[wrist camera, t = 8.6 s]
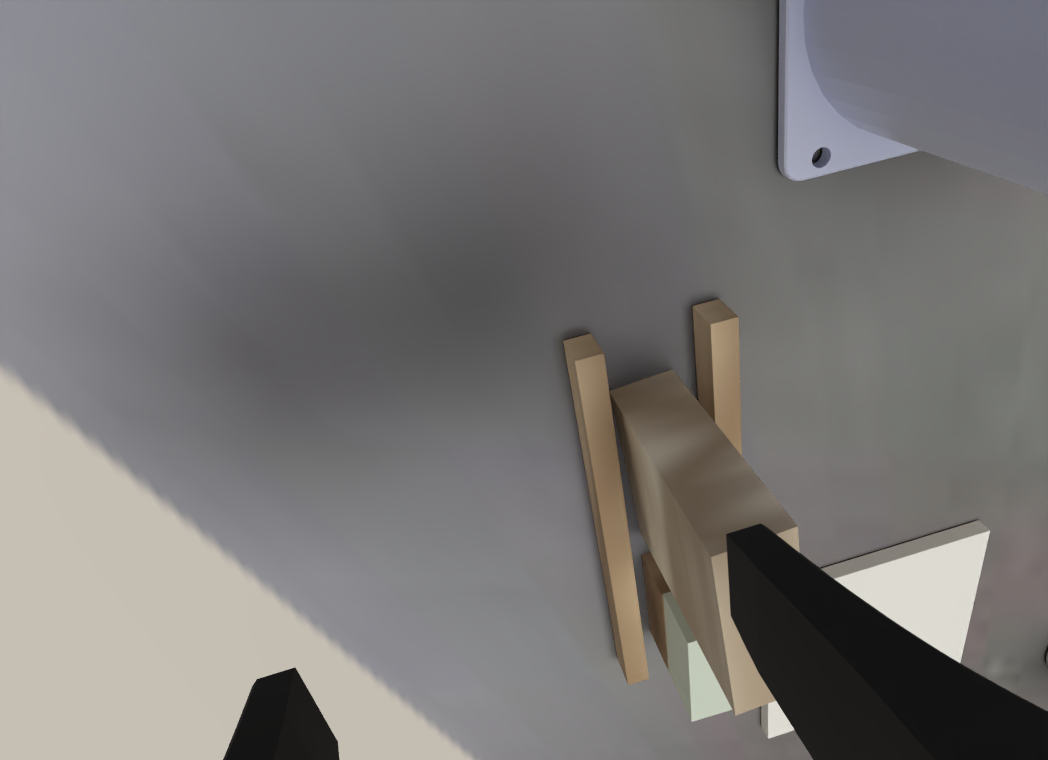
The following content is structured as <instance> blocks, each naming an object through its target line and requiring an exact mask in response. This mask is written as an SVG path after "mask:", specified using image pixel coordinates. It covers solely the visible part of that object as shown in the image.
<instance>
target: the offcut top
mask: <svg viewBox="0 0 1048 760" xmlns="http://www.w3.org/2000/svg"><path fill="white" fill-rule="evenodd" d="M663 600H664V614H665V628H666V642H667V656H668V670H669V673H670V675H671V678H672V680H673V682H674V684H675V686H676V689H677V691H678V693H679V695H680V697H681V700H682V702H683V704H684V706H685V708H686V711H687V713H688V715H689V717H690V719H691V722H693V721H696V720H699V719H703V718H706V717H709V716H713V715H716V714H719V713H722V712H726V711H729V710H732V708H731V706H730V704H729V702H728V700H727V698H726V696H725V694H724V692H723V691H722V689H721V687H720V685H719V683H718V681H717V679H716V677H715V675H714V673H713V671H712V669H711V667H710V666H709V664H708V662H707V660H706V658H705V656H704V654H703V652H702V650H701V648H700V646H699V644H698V642H697V641H696V639H695V637H694V635H693V633H692V631H691V629H690V627H689V625H688V623H687V621H686V619H685V617H684V615H683V614H682V612H681V610H680V608H679V606H678V604H677V602H676V600H675V598H674V596H673V594H672V592H668V593H665V594H663Z"/></svg>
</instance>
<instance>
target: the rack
mask: <svg viewBox="0 0 1048 760" xmlns="http://www.w3.org/2000/svg"><path fill="white" fill-rule="evenodd" d="M692 307H693V324H694V341H695V357H696V374H697V390H698V402H699V403H700V404H701V406H702V407H703V408H704V409H705V411H706V412H707V413H708V414H709V416H710V417H711V418H712V419H713V421H714V422H715V423H716V424H717V426H718V427H719V428H720V429H721V431H722V432H723V433H724V434H725V436H726V437H727V438H728V439H729V441H730V442H731V443H732V444H733V446H734V447H735V448H736V449H737V451H738V452H739V453H740V454H741V456H742V443H741V399H740V355H739V317H738V316H737V315H736V314H735V313H734V312H733V311H732V310H731V309H730V308H728V307H727V306H726V305H725V304H724V303H723V302H722V301H721V300H720V299H717V300H713V301H709V302H706V303H702V304H698V305H694V306H692ZM563 343H564V349H565V354H566V360H567V366H568V372H569V378H570V384H571V389H572V395H573V401H574V407H575V413H576V419H577V424H578V430H579V436H580V442H581V448H582V454H583V459H584V465H585V471H586V477H587V483H588V489H589V494H590V500H591V506H592V512H593V518H594V524H595V529H596V535H597V541H598V547H599V553H600V559H601V564H602V570H603V576H604V582H605V588H606V594H607V599H608V605H609V611H610V617H611V623H612V629H613V634H614V640H615V646H616V652H617V658H618V661H619V663H620V666H621V668H622V671H623V673H624V676H625V678H626V681H627V683H628V685H630V684H633V683H636V682H639V681H643V680H646V679H649V675H648V668H647V661H646V654H645V646H644V639H643V632H642V625H641V618H640V610H639V603H638V596H637V589H636V581H635V574H634V567H633V560H632V553H631V545H630V538H629V531H628V524H627V516H626V509H625V502H624V495H623V488H622V480H621V473H620V466H619V459H618V451H617V444H616V437H615V430H614V422H613V415H612V408H611V401H610V394H609V386H608V379H607V372H606V365H605V357H604V353H603V351H602V350H601V348H600V347H599V345H598V344H597V342H596V341H595V339H594V338H593V336H592V335H591V333H590V334H586V335H583V336H579V337H575V338H571V339H568V340H564V341H563Z"/></svg>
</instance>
